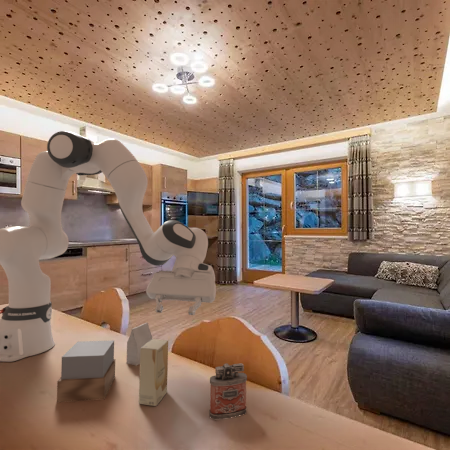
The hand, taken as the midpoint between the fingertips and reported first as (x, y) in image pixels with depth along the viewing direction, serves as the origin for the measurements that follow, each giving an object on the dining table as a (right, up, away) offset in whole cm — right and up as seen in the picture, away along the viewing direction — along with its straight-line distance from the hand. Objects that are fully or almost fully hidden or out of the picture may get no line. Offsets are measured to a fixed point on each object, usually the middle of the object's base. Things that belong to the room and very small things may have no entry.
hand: (174, 312), depth 77 cm
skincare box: (-3, -16, -12) cm, 20 cm away
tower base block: (-19, -16, -9) cm, 26 cm away
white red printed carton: (-12, -16, +7) cm, 21 cm away
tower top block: (-19, -11, -9) cm, 24 cm away
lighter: (+14, -16, -17) cm, 28 cm away
